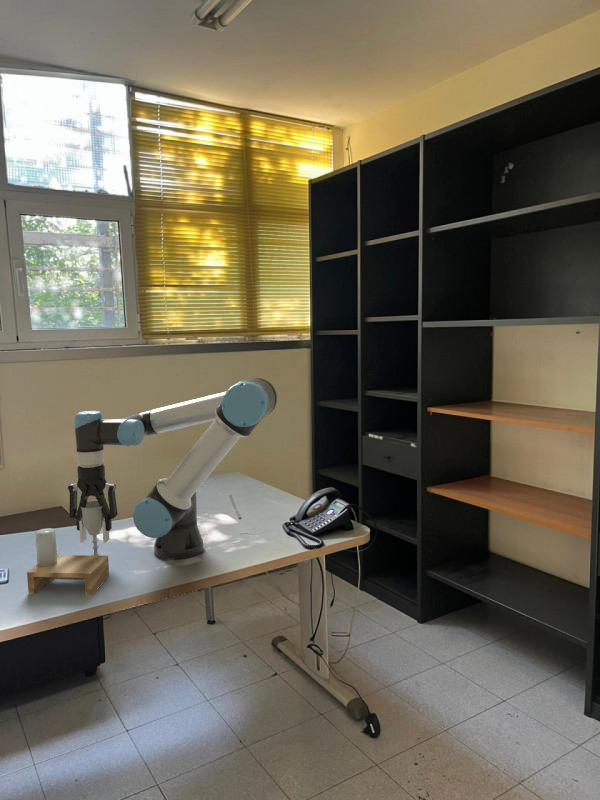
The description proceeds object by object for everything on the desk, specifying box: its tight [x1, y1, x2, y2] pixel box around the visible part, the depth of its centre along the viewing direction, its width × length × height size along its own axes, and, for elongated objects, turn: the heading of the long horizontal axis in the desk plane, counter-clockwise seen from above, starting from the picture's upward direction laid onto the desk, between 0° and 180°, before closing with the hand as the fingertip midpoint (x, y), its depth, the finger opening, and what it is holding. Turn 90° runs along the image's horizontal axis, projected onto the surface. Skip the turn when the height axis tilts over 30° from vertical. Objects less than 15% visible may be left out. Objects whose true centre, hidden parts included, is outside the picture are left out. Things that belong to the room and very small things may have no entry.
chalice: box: [80, 500, 104, 556], centre depth 174 cm, size 7×7×18 cm
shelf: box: [26, 554, 110, 596], centre depth 160 cm, size 17×12×6 cm
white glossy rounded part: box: [34, 527, 58, 567], centre depth 160 cm, size 5×5×9 cm
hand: (95, 540), depth 174 cm, fingers closed on chalice, 6 cm apart
